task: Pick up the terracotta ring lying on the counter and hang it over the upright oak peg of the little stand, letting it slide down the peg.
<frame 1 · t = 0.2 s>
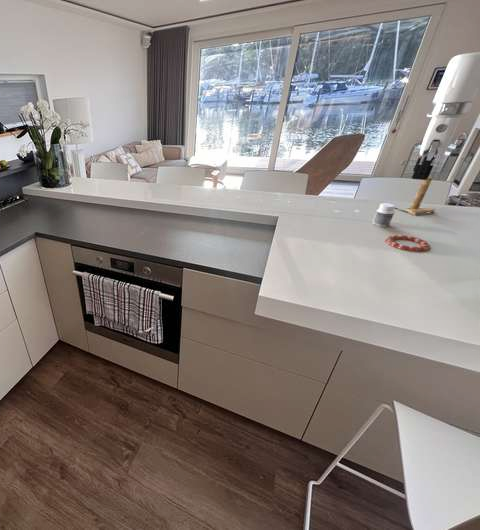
hand: (419, 175, 84), 22 cm above the countertop, tool pointing down, fingers open, 9 cm apart
ring: (406, 243, 91), point 1 cm above the countertop
stand: (413, 210, 115), on the countertop
pill bottle: (379, 227, 105), on the countertop
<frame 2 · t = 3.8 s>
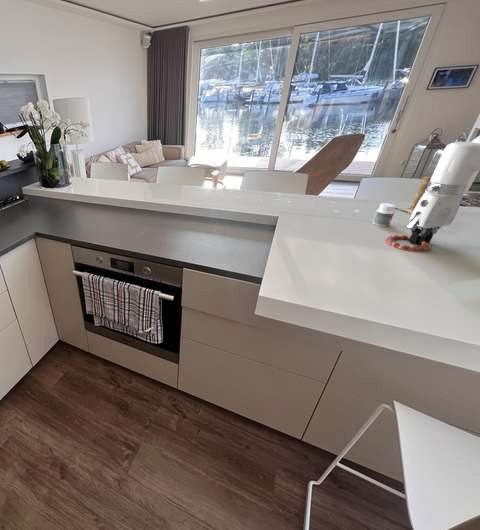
hand: (417, 244, 92), 0 cm above the countertop, tool pointing down, fingers closed on ring, 2 cm apart
ring: (407, 243, 91), point 1 cm above the countertop, touching gripper
everything else where it was.
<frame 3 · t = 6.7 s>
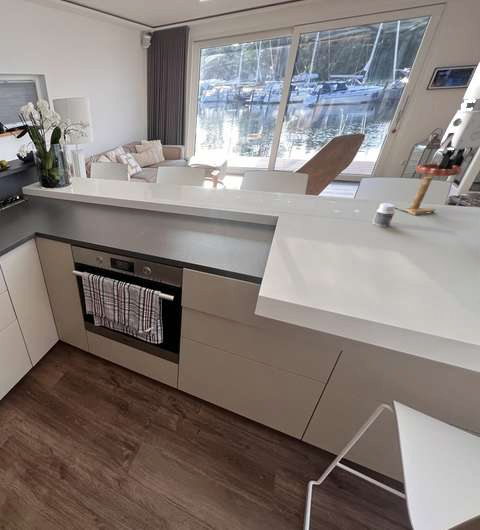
hand: (447, 170, 92), 20 cm above the countertop, tool pointing down, fingers closed on ring
ring: (437, 169, 91), point 21 cm above the countertop, touching gripper
everything else where it was.
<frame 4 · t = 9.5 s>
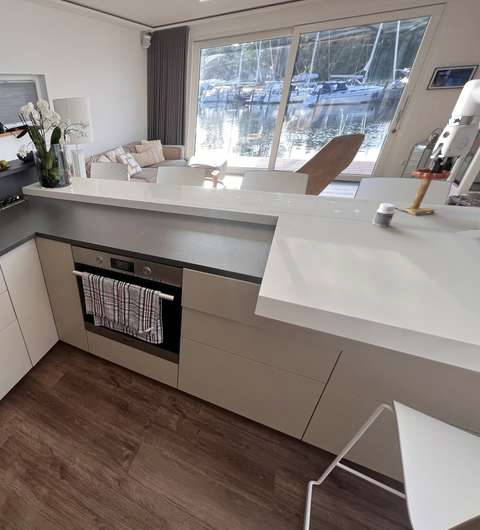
hand: (438, 174, 108), 14 cm above the countertop, tool pointing down, fingers closed on ring
ring: (430, 173, 108), point 15 cm above the countertop, touching gripper
everything else where it was.
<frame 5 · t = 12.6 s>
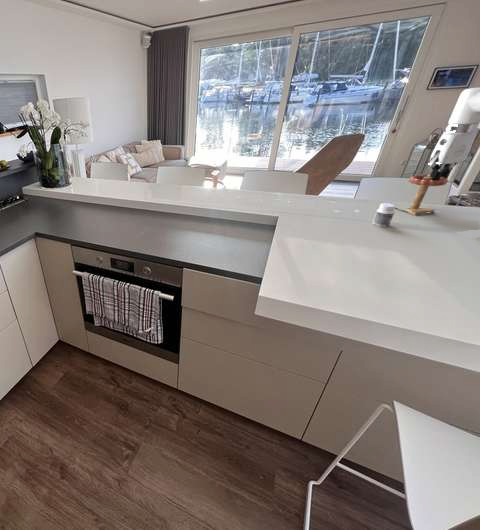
hand: (436, 181, 109), 11 cm above the countertop, tool pointing down, fingers closed on ring
ring: (427, 180, 109), point 12 cm above the countertop, touching gripper
everything else where it was.
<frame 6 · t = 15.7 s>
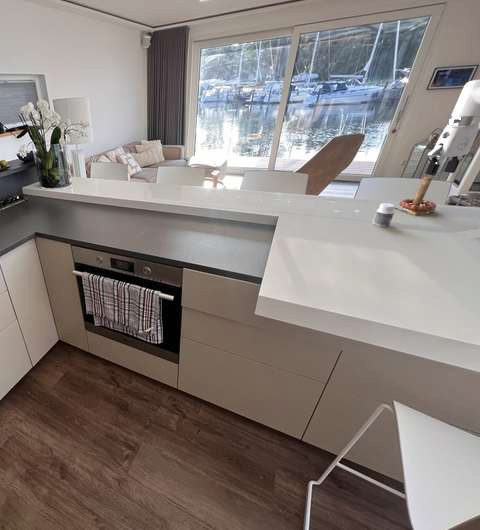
hand: (439, 173, 108), 14 cm above the countertop, tool pointing down, fingers open, 7 cm apart
ring: (417, 204, 114), point 2 cm above the countertop, touching stand
everything else where it was.
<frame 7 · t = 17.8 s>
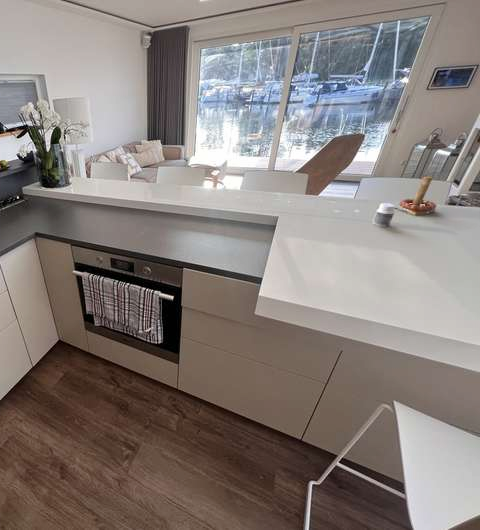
nothing on the countertop moved.
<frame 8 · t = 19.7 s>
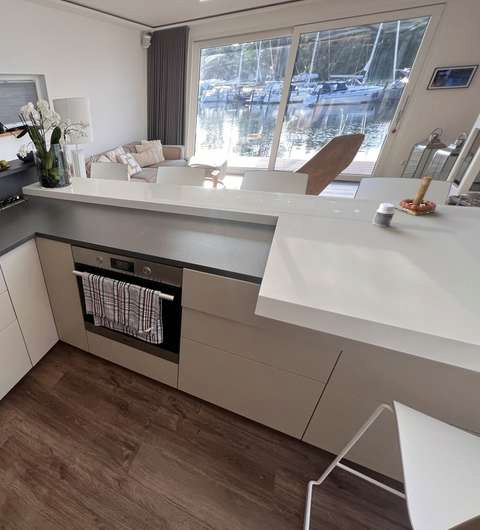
nothing on the countertop moved.
at the end: ring 0.8 cm from the stand (horizontally); ring point 2.2 cm above the countertop; the gripper is holding nothing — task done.
